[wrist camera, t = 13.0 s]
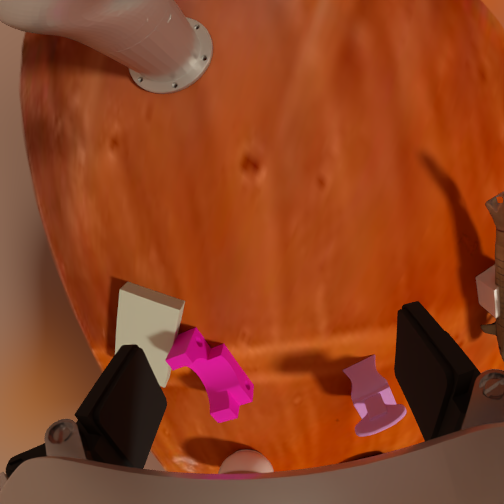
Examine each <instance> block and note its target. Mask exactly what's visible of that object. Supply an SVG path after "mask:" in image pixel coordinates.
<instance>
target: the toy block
mask: <svg viewBox="0 0 504 504" xmlns="http://www.w3.org/2000/svg"><path fill="white" fill-rule="evenodd" d="M165 361H166V362H167V363H168V365H169V366H170V367H171V368H172V370H175V369H178V368H181V367H184V366H188V367H189V368H191V369H192V370H193V371H194V372H195V373H196V374H197V375H198V376H199V378H200V379H201V381H202V382H203V384H204V386H205V388H206V391H207V394H208V397H209V402H210V414H211V415H212V417H213V418H214V419H215V420H216V421H217V422H218V423H220V422H224V421H228V420H232V419H235V418H238V412H239V405H243V404H246V403H249V402H252V399H253V388H254V385H253V384H252V382H251V381H250V379H249V378H248V377H247V375H246V374H245V373H244V371H243V370H242V368H241V367H240V366H239V364H238V363H237V361H236V360H235V359H234V357H233V356H232V354H231V353H230V352H229V350H228V349H227V347H226V346H225V344H221V345H219V346H216V347H214V348H210V346H209V345H208V343H207V342H206V340H205V339H204V338H203V336H202V335H201V333H200V332H199V330H198V329H197V328H196V327H195V328H193V329H190V330H188V331H186V332H183V333H181V334H178V336H177V338H176V340H175V342H174V344H173V346H172V348H171V350H170V352H169V354H168V356H167V358H166V360H165Z"/></svg>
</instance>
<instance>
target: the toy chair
mask: <svg viewBox="0 0 504 504" xmlns="http://www.w3.org/2000/svg"><path fill="white" fill-rule="evenodd" d="M343 372H344V373H345V374H346V375H347V376H348V377H349V378H350V380H351V382H352V393H351V398H352V401H353V404H354V406H355V408H356V409H357V411H358V413H359V414H360V416H361V418H362V420H361V421H360V422H359V423H358V424H357V425H356V427H355V432H356V434H357V435H358V436H368V435H372V434H375V433H378V432H380V431H383V430H385V429H387V428H389V427H391V426H393V425H394V424H396V423H397V422H398V421H400V420H401V419H402V418H403V417H404V416H405V415H406V408H405V407H404V406H403V405H402V404H396V402H395V399H394V397H393V394H392V392H391V390H390V387H389V385H388V383H387V381H386V379H384V378H383V377H382V376H381V375H380V374H379V373H378V372H377V370H376V367H375V355H372V356H370V357H368V358H366V359H364V360H362V361H360V362H358V363H356V364H354V365H352V366H350V367H348V368H346V369H344V370H343Z"/></svg>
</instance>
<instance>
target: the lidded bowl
mask: <svg viewBox="0 0 504 504" xmlns="http://www.w3.org/2000/svg"><path fill="white" fill-rule="evenodd" d="M268 472H274V471H273V467H272V465H271V463H270V462H269V461H268V459H267V458H265V457H264V456H263V455H262V454H261V453H260V452H258V451H255V450H249V449H244V450H238V451H236V452H235V453H234V454H232V455H230V456H228V457H227V458H226V459H225V460H224V461H223V463H222V465H221V467H220V469H219V472H218V474H251V473H268Z"/></svg>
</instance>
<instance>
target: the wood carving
mask: <svg viewBox="0 0 504 504" xmlns="http://www.w3.org/2000/svg"><path fill="white" fill-rule="evenodd" d="M498 196H501V197H502V198H503V203H498V202H497V199H496V197H498ZM485 205H486V207H487V209H488V210H489V212H490V214H491V216H492V218H493V220H494V223H495V225H496V243H495V264H494V265H493V266H491V267H490V268H488V269H487V270H486V271H484V272H483V273H481V274H479V275H478V276H476V284H477V292H478V300H479V304H480V305H481V306H482V307H483V308H485V309H486V310H487V311H488V312H489V313H490V314H491V315H493V316H494V317H495V318H496V321H495V322H494V323H492V324H488V325H481V329H482V330H483V331H484V332H485V333H488V334H493V335H496V336H497V340H498V345H499V350H500V354H501V356H502V359H503V361H504V192H502V193H500V194H498V195H497V196H495V197H493V198H492V199H490V200H488V201H487V202H486V203H485Z"/></svg>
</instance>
